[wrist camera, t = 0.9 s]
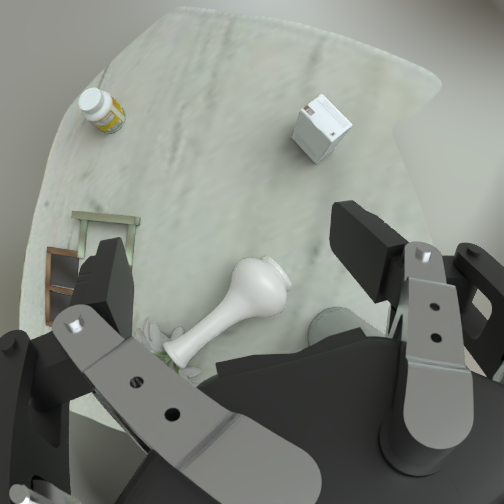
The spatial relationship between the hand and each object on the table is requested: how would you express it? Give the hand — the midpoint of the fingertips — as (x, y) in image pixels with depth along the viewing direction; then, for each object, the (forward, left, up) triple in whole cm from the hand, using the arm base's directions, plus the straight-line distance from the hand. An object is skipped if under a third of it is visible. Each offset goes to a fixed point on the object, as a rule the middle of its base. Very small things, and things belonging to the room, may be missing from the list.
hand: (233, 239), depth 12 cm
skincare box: (+9, -17, -38) cm, 42 cm away
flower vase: (-8, +10, -38) cm, 40 cm away
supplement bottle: (+30, +10, -38) cm, 49 cm away
